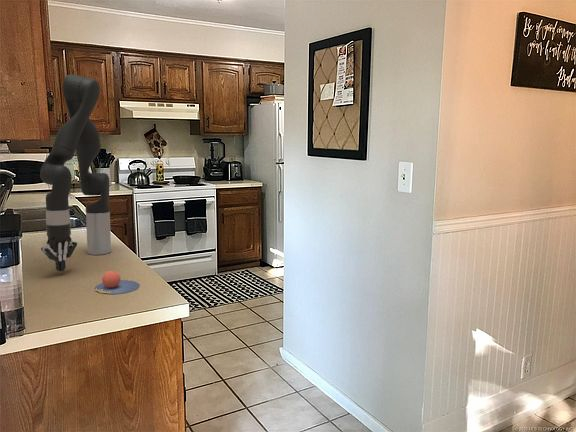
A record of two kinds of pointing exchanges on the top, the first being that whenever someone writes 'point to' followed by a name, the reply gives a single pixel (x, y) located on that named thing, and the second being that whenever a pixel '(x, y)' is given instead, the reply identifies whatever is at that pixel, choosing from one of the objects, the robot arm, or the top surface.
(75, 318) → the top surface
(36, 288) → the top surface
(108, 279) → the ball
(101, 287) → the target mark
